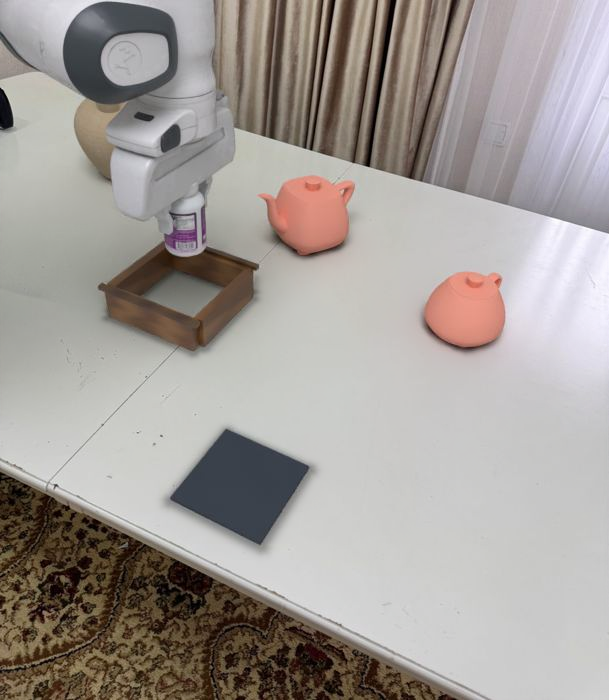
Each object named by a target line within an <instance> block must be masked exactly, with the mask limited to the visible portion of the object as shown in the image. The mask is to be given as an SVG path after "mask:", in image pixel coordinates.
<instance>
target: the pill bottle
mask: <svg viewBox="0 0 609 700" xmlns="http://www.w3.org/2000/svg"><path fill="white" fill-rule="evenodd" d="M198 188H199V187H198V182H196V183H194V184H193V185H192V186H191V187H190V190H189V192H187V193H186V194H185V195H183V196H182V197H180V198H179V199H177V200H176V201H174V202H173V203H172V204H171V210H170V211H168V212H169V214H170V216H173V217H176V218H177V226H178V228H177V229H176V230H175V231H174V232H173V233H171V234H170V235H168V234H165V233H163V238H164V241H165V246H166V248H167V250H168V251H169V252H170V253H172V254H174V255H176V256H180V257H189V256H194V255H198V254H200V253H201V252H203V251H204V249H205V248H206V246H207V221H206V208H205V201H204V197H203V195H202V194H201V193H200V192H199V191H198Z"/></svg>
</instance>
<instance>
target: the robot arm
mask: <svg viewBox="0 0 609 700" xmlns="http://www.w3.org/2000/svg"><path fill="white" fill-rule="evenodd" d="M214 2H215V1H214V0H0V41H1V43H2V44H3V46H4V47H5V48H6V49H7V51H8V52H9V53H10V54H11V55H12V56H13V57H14V58H15V59H17V60H18V61H19V62H21V63H22V64H23V65H26V66H27V67H30V68H32V69H33V70H35V71H37V72H40V73H43V74H44V75H47V76H48V77H49V78H51V79H53V80H54V81H55V82H58V83H59V84H61V85H62V86H65V87H66V88H68V89H69V90H71V91H72V92H74V93H75V94H77V95H79V96H81V97H83V98H85V99H86V98H87V99H89V100H92V101H94V102H97V103H101V104H107V105H113V104H119V103H123V102H126V101H127V103H126V104H125V105H124V107H123V108H122V109H121V110H120V111H119V113H118V114H117V115H116V116H115V117H114V118H113V119H112V120H111V121H110V122H109V123H108V125H107V127H106V137H107V141H108V142H109V143H110V144H113V145H115V146H116V147H115V148H114V150H113V152H112V155H111V161H110V169H111V179H110V181H111V187H112V194H113V199H114V205H115V208H116V210H117V211H119V212H120V214H122V216H123V215H124V216H125V217H128V218H131V219H134V220H137V221H140V222H147V221H149V220H151V218H153V217H155V219H157V223H158V224H157V225H158V230H159V232H160V233H163V234H164V233H165V234H168V235H170V234H171V233H173V232H174V231H175V230H176V229H177V228H178V226H177V218H176V217H173V216H170V214H169V212H168V211H170V210H171V204H172V203H173V202H174V201H176V200H177V199H179V198H180V197H182V196H183V195H185V194H186V193H187V192H189V190H190V187H191V186H192V185H193V184H194V183H196V182H198V187H199V188H198V191H199V192H200V193H201V194H202V195H203V197H204V201H205V209H206V208H207V207H208V196H209V194H210V193H209V192H210V189H211V186H212V183H213V176H214V175H215V174H216V173H218V172H219V171H221V170H222V169H224V168H225V167H226V166H228V165H230V164H231V163H232V162H233V161H234V158H235V154H236V149H237V147H236V133H235V124H234V123H235V122H234V117H233V114H232V113H233V112H232V111H231V109H230V108H229V98H228V96H227V95H226V94H225V92H224V91H222V90H221V89H220V88H217V79H216V76H215V72H214V69H213V54H214V50H215V47H216V22H215V21H216V16H215V15H216V14H215V3H214Z"/></svg>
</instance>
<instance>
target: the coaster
mask: <svg viewBox="0 0 609 700" xmlns="http://www.w3.org/2000/svg"><path fill="white" fill-rule="evenodd" d="M309 469H310V465H308V464H305V463H303V462H301V461H299V460H297V459H295V458H292V457H290V456H288V455H286V454H284V453H281V452H279V451H277V450H275V449H272V448H270V447H268V446H266V445H263V444H261V443H259V442H257V441H255V440H252V439H250V438H249V437H246V436H244V435H242V434H239V433H237V432H235V431H232V430H231V429H228V428H225V429H224V430H223V432H222V433H221V434H220V436H218V438H217V439H216V440H215V442H214V443H213V444H212V445H211V446H210V448H209V449H208V450H207V451H206V453H205V454H204V455H203V456H202V457H201V458H200V460H199V461H198V463H197V464H196V465H195V466H194V467H193V468H192V470H191V471H190V472H189V473H188V475H187V476H186V477H185V479H184V480H183V481H182V482H181V483H180V485H178V487H177V488H176V489H175V490H174V492H173V493H172V494H171V495H170V497H169V499H170V501H172V502H175V503H176V504H178V505H181V506H182V507H184V508H186V509H189V511H192V512H194V513H196V514H197V515H200V516H202V517H204V518H206V519H208V520H210V521H211V522H214V523H215V524H218V525H219V526H222V527H224V528H226V529H227V530H230V531H231V532H234V533H236V534H237V535H239V536H241V537H243V538H245V539H247V540H249V541H251V542H252V543H255V544H257V545H259V546H261V545H262V543H263V542H264V540H265V538H266V537H267V535H268V534H269V532H270V530H271V529H272V527H274V524H275V523H276V521H277V519H278V518H279V516H280V515H281V513H282V511H283V510H284V508H285V507H286V505H287V504H288V503H289V501H290V499H291V498H292V496H293V494H294V493H295V491H296V490H297V488H298V487H299V485H300V484H301V482H302V480H303V478H304V477H305V475H306V474H307V473H308V471H309Z"/></svg>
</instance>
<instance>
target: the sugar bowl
mask: <svg viewBox="0 0 609 700" xmlns="http://www.w3.org/2000/svg"><path fill="white" fill-rule="evenodd" d="M502 282H503V277H502V275H501V274H499V273H497V272H490V273H489V274H488V275H485V274H482V273H480V272H475V271H467V270H466V271H460V272H456V273H453V274H452V275H451V276H449V277H448V278H446V279H445V280H444V281H442V282H441V283H440V284H439V285H437V286H436V287H435V288H434V289H433V291H432V293H430V295H429V297H428V299H427V301H426V302H425V307H424V311H423V312H424V318H425V321H426V323H427V325H428V326H429V328H430V329H431V331H433V333H434V334H435V335H436V336H437V337H439V338H440V339H442V340H443V341H445V342H447V343H449V344H452V345H454V346H458V347H459V348H464V349H465V348H474V347H479V346H483V345H486V344H489V343H491V342H493V341H494V340H496V339H497V338H498V337H499V336H501V334H502V332H503V330H504V327H505V324H506V308H505V307H506V306H505V302H504V299H503V296H502V293H501V290H500V287H501V285H502Z"/></svg>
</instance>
